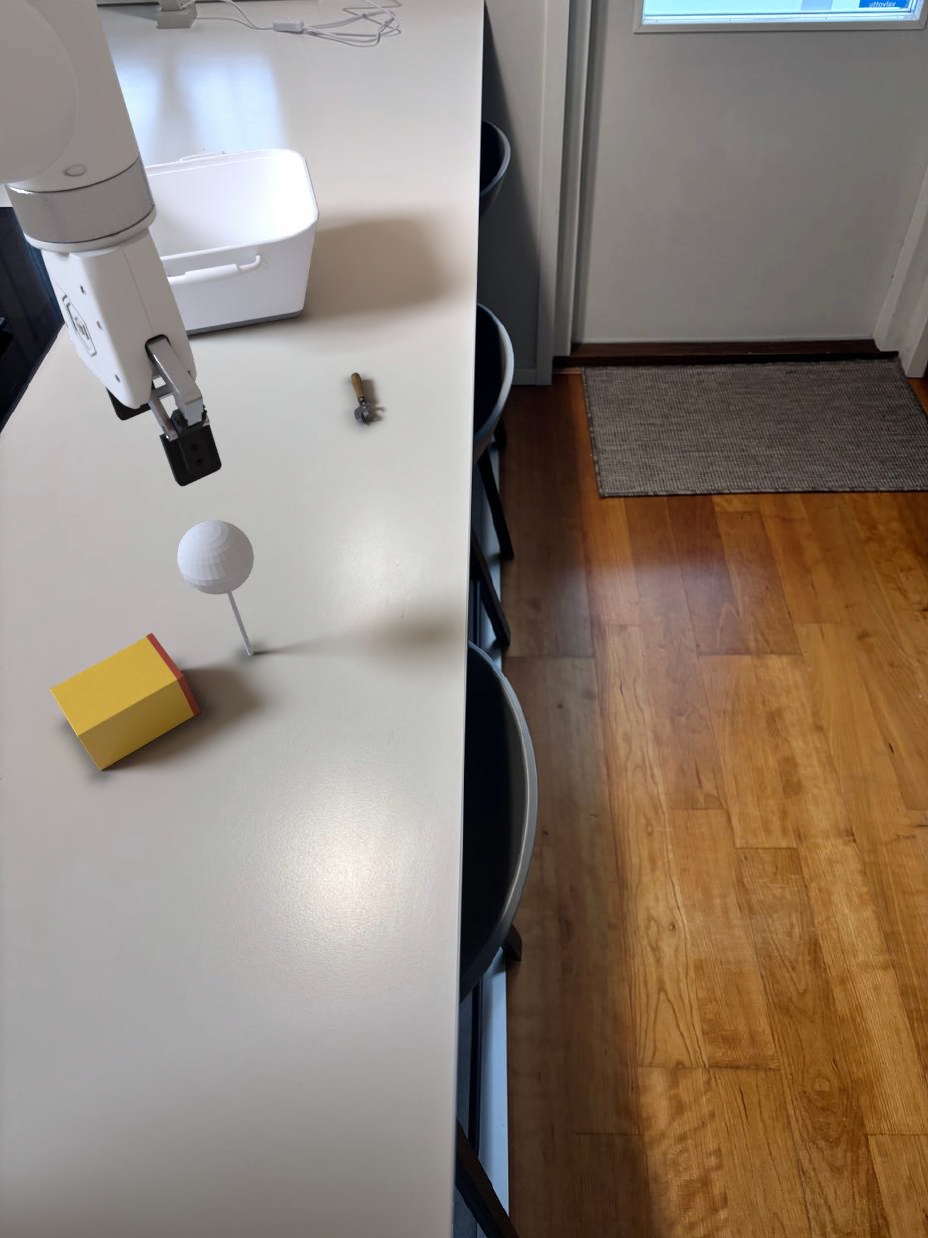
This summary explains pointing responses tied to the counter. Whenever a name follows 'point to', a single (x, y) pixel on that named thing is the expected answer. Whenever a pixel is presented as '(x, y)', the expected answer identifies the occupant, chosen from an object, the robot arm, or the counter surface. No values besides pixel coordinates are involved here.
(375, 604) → the counter surface
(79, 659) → the counter surface
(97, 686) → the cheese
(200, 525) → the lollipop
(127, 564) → the counter surface
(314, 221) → the tub
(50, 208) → the robot arm
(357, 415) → the can opener
